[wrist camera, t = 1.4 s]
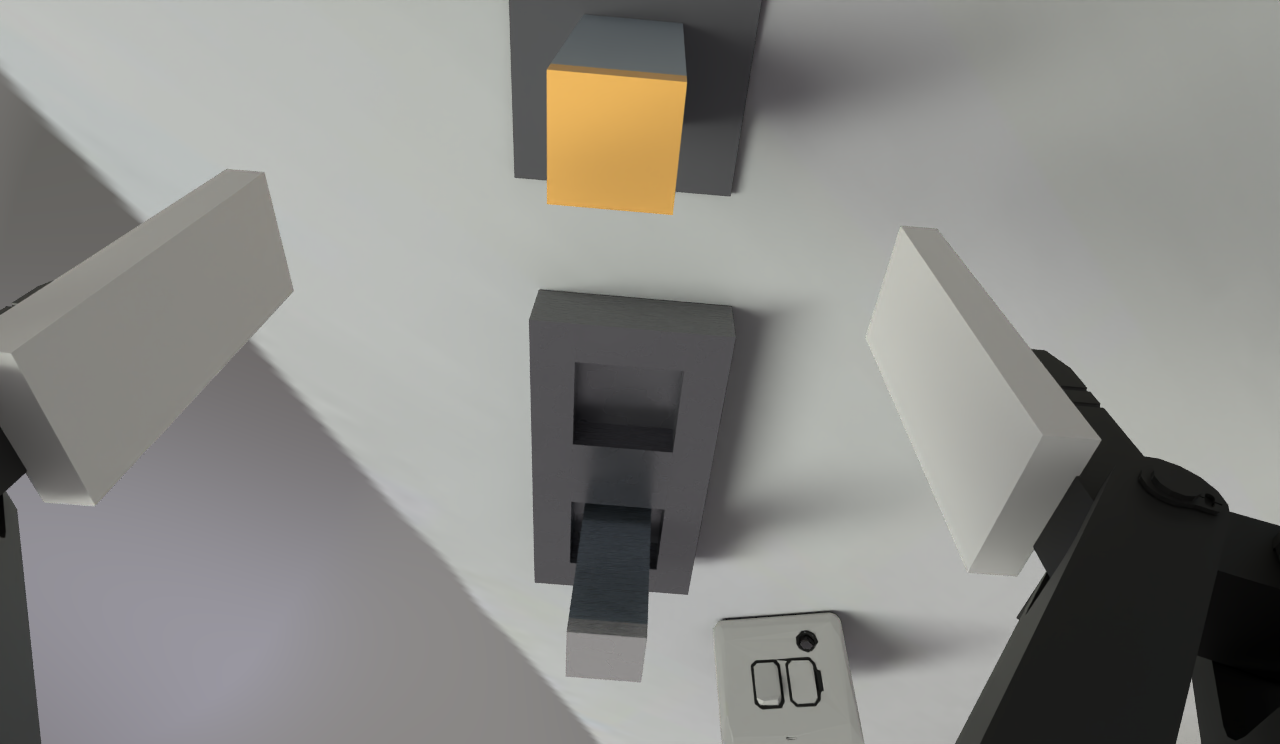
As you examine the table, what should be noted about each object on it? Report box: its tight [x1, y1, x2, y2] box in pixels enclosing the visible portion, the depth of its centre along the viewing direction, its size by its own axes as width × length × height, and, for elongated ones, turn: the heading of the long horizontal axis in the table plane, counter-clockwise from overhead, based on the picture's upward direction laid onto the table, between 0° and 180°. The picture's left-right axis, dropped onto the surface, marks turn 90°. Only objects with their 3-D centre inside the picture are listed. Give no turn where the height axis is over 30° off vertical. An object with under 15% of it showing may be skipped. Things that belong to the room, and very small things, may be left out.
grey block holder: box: [529, 290, 736, 682], centre depth 37 cm, size 10×20×11 cm, turn 176°
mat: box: [509, 0, 762, 196], centre depth 29 cm, size 10×10×1 cm
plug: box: [547, 14, 687, 215], centre depth 25 cm, size 4×4×10 cm
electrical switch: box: [713, 612, 864, 744], centre depth 49 cm, size 9×5×9 cm, turn 100°
